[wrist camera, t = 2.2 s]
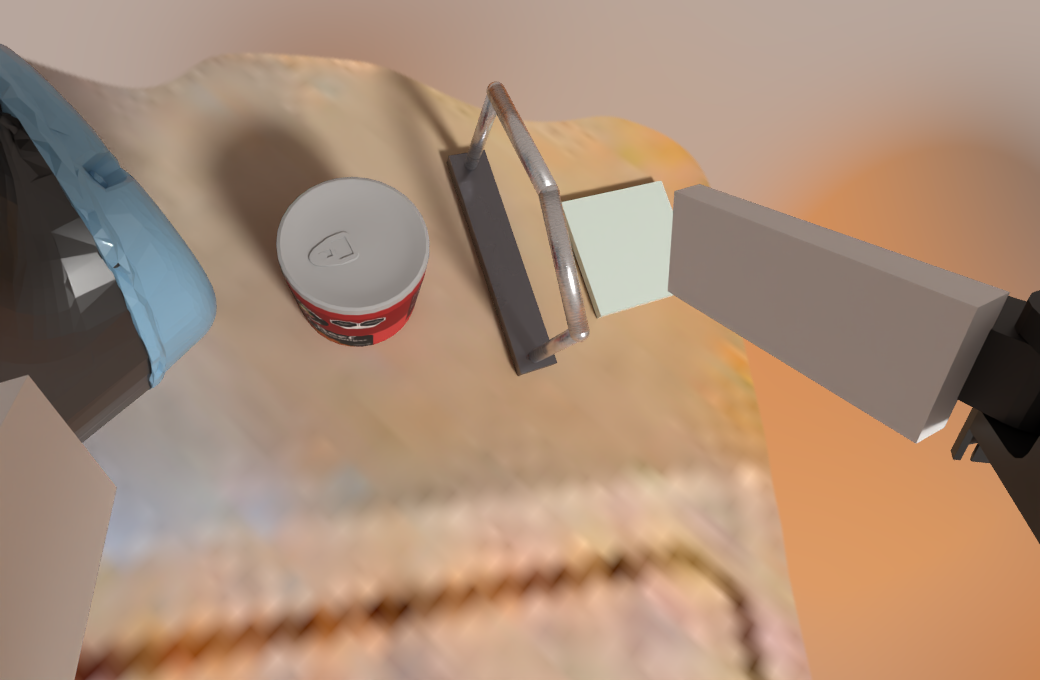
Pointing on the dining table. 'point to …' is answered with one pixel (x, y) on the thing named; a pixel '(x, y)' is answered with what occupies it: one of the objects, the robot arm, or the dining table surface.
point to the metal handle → (500, 245)
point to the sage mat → (622, 245)
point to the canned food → (354, 258)
